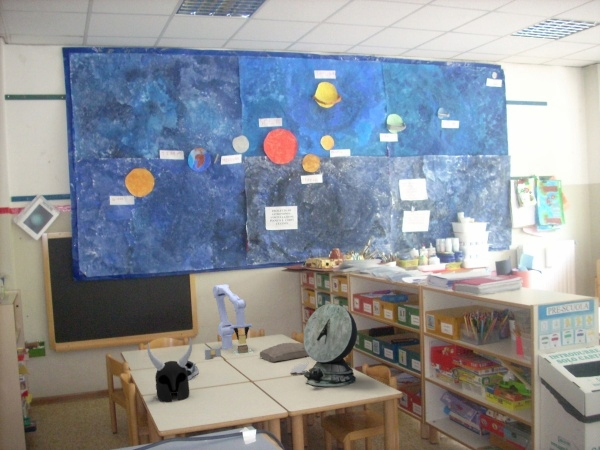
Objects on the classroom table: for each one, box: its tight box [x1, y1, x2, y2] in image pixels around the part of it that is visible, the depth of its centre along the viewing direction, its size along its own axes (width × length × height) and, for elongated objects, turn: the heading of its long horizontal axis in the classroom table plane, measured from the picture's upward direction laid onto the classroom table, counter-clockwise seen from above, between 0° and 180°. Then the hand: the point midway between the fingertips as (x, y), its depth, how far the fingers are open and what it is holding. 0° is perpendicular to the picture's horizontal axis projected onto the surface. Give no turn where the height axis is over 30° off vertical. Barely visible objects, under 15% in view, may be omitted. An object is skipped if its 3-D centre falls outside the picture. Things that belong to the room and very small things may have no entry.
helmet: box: [146, 337, 193, 403], centre depth 317 cm, size 22×19×30 cm
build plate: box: [232, 348, 254, 356], centre depth 406 cm, size 12×12×1 cm
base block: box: [237, 344, 249, 354], centre depth 406 cm, size 6×6×4 cm
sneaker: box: [185, 360, 200, 381], centre depth 354 cm, size 10×20×10 cm, turn 172°
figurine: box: [289, 356, 316, 376], centre depth 344 cm, size 14×4×9 cm, turn 104°
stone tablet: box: [259, 342, 310, 363], centre depth 388 cm, size 20×8×30 cm
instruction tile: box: [204, 347, 222, 360], centre depth 397 cm, size 2×10×6 cm, turn 104°
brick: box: [237, 334, 247, 345], centre depth 405 cm, size 4×4×5 cm
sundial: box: [303, 303, 358, 387], centre depth 323 cm, size 31×32×40 cm
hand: (242, 339), depth 405 cm, fingers closed on brick, 4 cm apart
